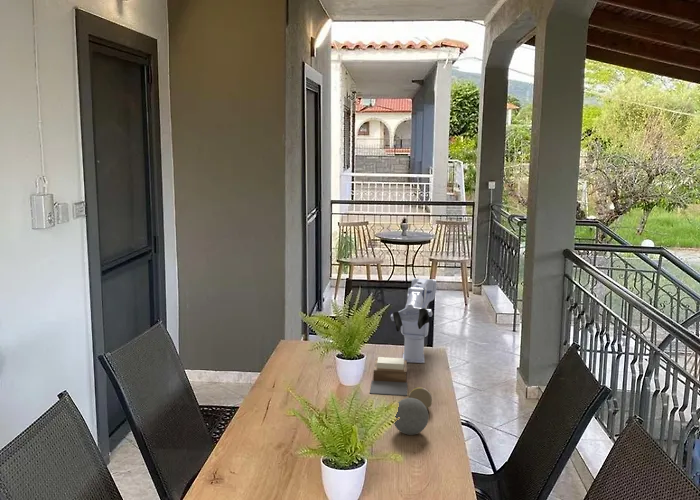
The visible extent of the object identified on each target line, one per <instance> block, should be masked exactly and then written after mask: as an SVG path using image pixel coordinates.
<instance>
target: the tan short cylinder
mask: <svg viewBox="0 0 700 500" xmlns="http://www.w3.org/2000/svg"><path fill="white" fill-rule="evenodd" d="M407 398H415V399H418V400H420V401H421V402H422V403H423V404H424V405H425V406H426V408H427V410H428V409H429V408H430V406H431V405H432V401H433V396H432V393H431V392H430V391H429V390H428V389H427V388H425V387H419V386H418V387H415V388H413V389H412V390H411V391H410V392H409V393H408V397H407Z"/></svg>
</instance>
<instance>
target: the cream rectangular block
mask: <svg viewBox="0 0 700 500" xmlns="http://www.w3.org/2000/svg"><path fill="white" fill-rule="evenodd" d="M377 359H378V361H377V368H380V369H398V370H404V358H403V357H387V356H385V357H383V356H378V357H377Z"/></svg>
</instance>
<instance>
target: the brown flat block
mask: <svg viewBox="0 0 700 500" xmlns="http://www.w3.org/2000/svg"><path fill="white" fill-rule="evenodd" d="M377 361H378V358H375V361H374V367H373V379H372V381H388V382H405V383H407V371H408V370H407V365H408V364H407V363H408V362H407V360H404V370H398V369H380V368H377Z"/></svg>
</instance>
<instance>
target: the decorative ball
mask: <svg viewBox="0 0 700 500" xmlns="http://www.w3.org/2000/svg"><path fill="white" fill-rule="evenodd" d="M397 403H399V407H398V412H397V414H396V416H395V417H396V418H398V417H400V419H399V420H397V421H396V422H395V423H394V422H393V424H394V426H395V428H396V429H397V430H398V431H399V432H400V433H403V434H405V435H409V436H413V435H417V434H420V433H421V432H423V431H424V430H425V428H427V426H428V423H429V411H428V409H427V408H426V406H425V405H424V404H423V403H422V402H421V401H420V400H418V399H415V398H408V397H406V398H403V399H401V400H399V401H398V402H397Z"/></svg>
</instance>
